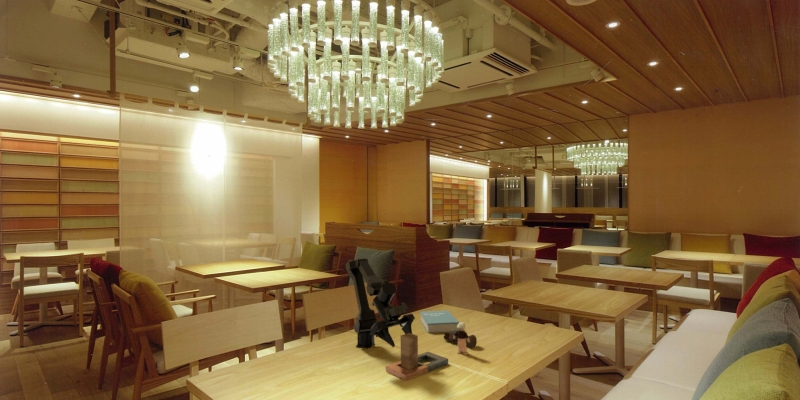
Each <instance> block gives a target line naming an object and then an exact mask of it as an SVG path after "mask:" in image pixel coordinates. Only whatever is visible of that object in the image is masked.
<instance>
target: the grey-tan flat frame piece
mask: <svg viewBox="0 0 800 400" xmlns="http://www.w3.org/2000/svg"><path fill="white" fill-rule="evenodd" d="M424 361H427V362H428V363H422V362H424ZM447 365H449V358H447V357H445V356H442V355H439V354H437V353H433V352H430V351H425V352H423V353H418V367H417V368H415V369H412V370H406V369H404V368H402V367H401V360H400V361H397V362H393V363H391V364H388V365H385V372H386V373H388V374H389V375H392V376H395V377H396V378H399V379H401V380H404V381H409V380H411V379H414V378H416V377H419V376H422V375H424V374H427V373H430V372H431V371H435V370H436V369H439V368H441V367H444V366H447Z"/></svg>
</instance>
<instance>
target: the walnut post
mask: <svg viewBox="0 0 800 400" xmlns="http://www.w3.org/2000/svg"><path fill="white" fill-rule="evenodd" d="M418 336H419V335H417V334H414V333H412V334H411V333H407V334H405V333H404V334H401V335H400V361H401V367H402V368H404V369H406V370H412V369H415V368H417V367H418V355H419V343H418V342H419V340H418Z"/></svg>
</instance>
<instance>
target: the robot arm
mask: <svg viewBox="0 0 800 400" xmlns="http://www.w3.org/2000/svg"><path fill="white" fill-rule="evenodd" d="M345 270H346V272H347V275H348V276H349V278H351V280H352V282H353V287H354V292H355V297H356V302H357V307H358V313H357V316H356V321H355V323H354V326H353V328H354V329H353V331H354V333H356V334H357V344H356V345H355V347H356V348H362V349H370V348H371V347H373V346H374V345H375V343H376V342H375V337H376V338H379V339H381V340H382V341H384V342H385V343H387V344H388V345H390V346H391V347H392V348H394V347H395V346H396V344H395V341H394V340H393V338H392V336H391V334H390V331H389V329H390V328H392V327H396V326H400V327H401V330H402V331H403V333H404V334H407V333H411V334H413V331H412V330H413V329H412V324H413V323H414V321H415V319H416V317H415V316H414V314H413V313H411V312H410V313H407V311H408V310H409V308H408V306H407V304H406V303H405V302H401V303H399V305H397V306H395V305H392V304H391V303H390V302H391V301H392V299H393V298H394V295H395V294H396V293H397V288H396V287H397V286H395V284H393V283H391V282H390V281H389V280H383V279H382V278H381V277H379V276H378V275H377V274H376V273H375V271H374V270H373V268H372V267H371V265H370V263H369V259H368V258H366V257H362V258H356V259H353V260H352V259H349V260H348V261H347V262H346V263H345ZM364 280H365V281H364ZM365 282H366V285H365ZM368 295H369V297H374V298H372V304H371V305H372V307H374V306H375V308H376V310H377V312H378V315H377V316H378V319H380V318H381V320H379V321H378V319H377V317H376V312H375V310H374V309H371V308H370V304H369V299H368ZM402 315H403V316H402Z"/></svg>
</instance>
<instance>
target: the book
mask: <svg viewBox="0 0 800 400" xmlns="http://www.w3.org/2000/svg"><path fill="white" fill-rule="evenodd" d="M419 314H420V320H419V321H420V322H421V325H422V326H423V328H424V329H425V331H426V332H427V334H436V333H437V334H439V333H441V334H442V333H452V332H457V331H460V330H459V329H458V328H457V325H458V324H459V323H460V321H458V319H457V318H456V317H455V316H454V315H453V314H452V313H451V312H450V311H449V310H430V311H429V310H428V311H424V310H423V311H419Z"/></svg>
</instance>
